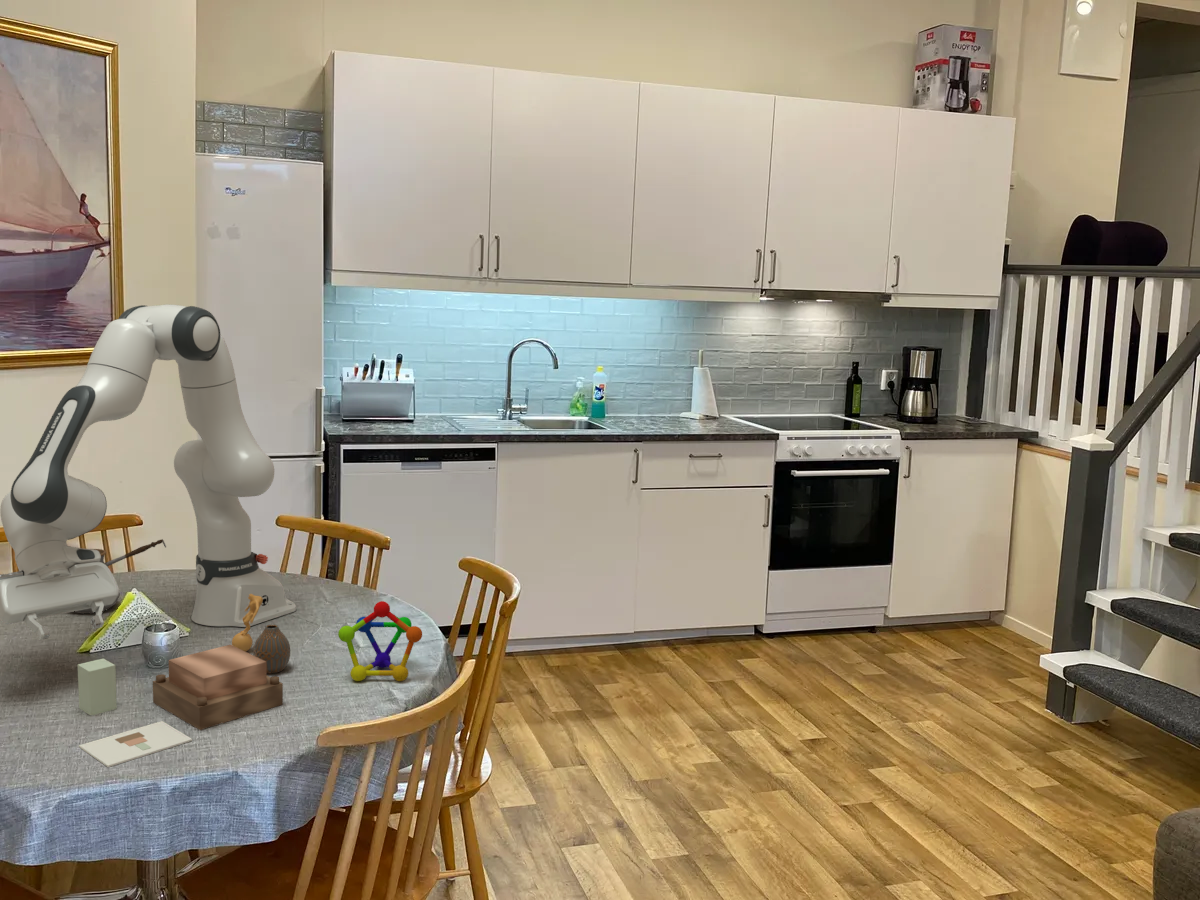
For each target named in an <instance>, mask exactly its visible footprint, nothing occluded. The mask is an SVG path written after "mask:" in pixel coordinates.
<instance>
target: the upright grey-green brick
mask: <svg viewBox="0 0 1200 900" xmlns="http://www.w3.org/2000/svg"><path fill="white" fill-rule="evenodd" d="M116 676H117V673H116V664H114V663H112V662H110V661H109V660H107V659H105V658H104V657H103V658H100V659H94V660H91V661H87V662H82V663H78V664H77V685H78V689H77V690H78V709H79V710H81V711H82V712H84V713H86V714H87V715H89V716H90V717H92V716H95V715H99V714H102V713H106V712H110V711H114V710H117V709H118V708H117V707H118V706H117V680H116V679H117V677H116Z"/></svg>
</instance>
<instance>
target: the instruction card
mask: <svg viewBox="0 0 1200 900" xmlns="http://www.w3.org/2000/svg"><path fill="white" fill-rule="evenodd" d="M190 742H193V739H192V738H191V737H190V736H188V735H186V733H185V734H184V732H181V731H180V730H178V729H176V728H174V727H173V726H171V725H169V724H168V723H166V722H165V721H163V720H161V721H158V722H153V723H151V724H148V725H147V724H146V725H143V726H140V727H137V728H134V729H133V728H132V729H129V730H126V731H124V732H119V733H116V734H114V735H110V736H107V737H103V738H100V739H96V740H93V741H90V742H85V743H82V744H79V745H78V748H79V749H80V750H82V751H84V752H85V753H86V754H88V755H89V756H91V757H92V758H94V759H95V760H97V761H98V762H99V763H101V764H102V765H104V766H105V767H107V768H110V767H113V766H117V765H119V764H123V763H126V762H130V761H132V760H136V759H139V758H142V757H146V756H148V755H153V754H155V753H158V752H162V751H164V750H167V749H171V748H174V747H178V746H181V745H184V744H187V743H190Z"/></svg>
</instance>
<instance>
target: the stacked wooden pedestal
mask: <svg viewBox="0 0 1200 900" xmlns="http://www.w3.org/2000/svg"><path fill="white" fill-rule="evenodd" d="M267 674H268V673H267V672H266V661H264V660H262V659H260V658H258V657H255V656H253V654H251V653H249V652H247V651H246V652H245V651H243V650H241V649H239V648H237V647H234V646H232V644H227V645H224V646H223V645H222V646H219V647H215V648H211V649H207V650H203V651H199V652H194V653H191V654H186V655H183V656H179V657H175V658H171V659H169V660H168V676H167V677H166V674H161V673H160V674H157V675H156V676H155V680H152V703H153V704H155V705H156V706H158V707H160V709H163V710H164V711H166V712H168V713H170V714H172V715H174V716H175V717H177V718H179V719H180V720H182V721H184V722H185V723H187V724H189V725H190V726H192V727H193V728H195V729H197V730H199V731H201V730H204V729H208V728H211V727H215V726H219V725H221V724H224V723H227V722H231V721H234V720H238V719H239V718H243V717H247V716H249V715H253V714H257V713H259V712H263V711H266V710H270V709H273V708H275V707H279V706H283V704H284V698H283V697H284V694H283V693H284V689H283V688H284V684H283V683H282V682H281V681H280V676H277V675H274V676H269V675H267Z"/></svg>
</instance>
